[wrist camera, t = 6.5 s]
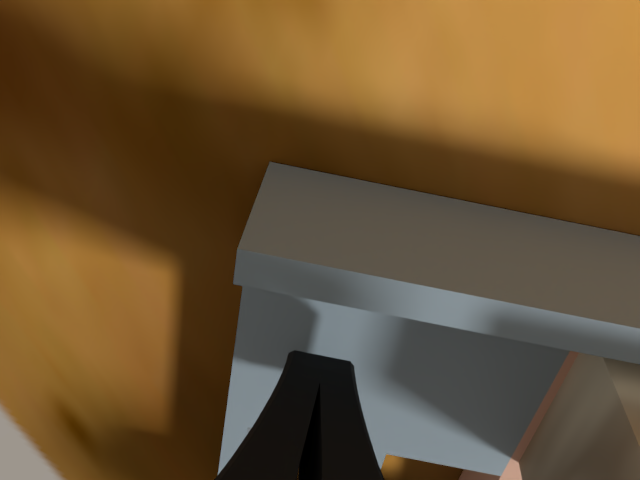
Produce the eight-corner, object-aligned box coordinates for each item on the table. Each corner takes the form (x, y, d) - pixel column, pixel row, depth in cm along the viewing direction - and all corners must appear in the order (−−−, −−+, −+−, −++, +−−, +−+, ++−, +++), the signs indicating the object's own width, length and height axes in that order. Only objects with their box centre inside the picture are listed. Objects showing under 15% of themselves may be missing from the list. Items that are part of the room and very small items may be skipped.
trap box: (606, 556, 21) (642, 675, 18) (223, 483, 20) (196, 591, 17) (833, 274, 14) (950, 390, 11) (269, 161, 14) (237, 248, 11)
